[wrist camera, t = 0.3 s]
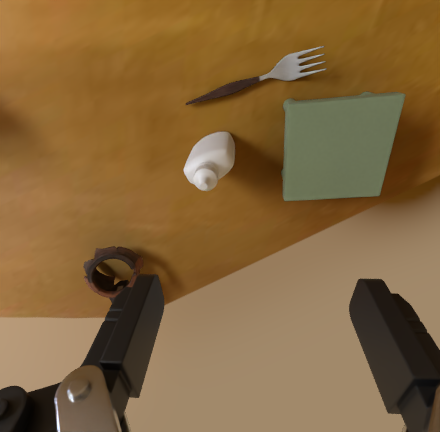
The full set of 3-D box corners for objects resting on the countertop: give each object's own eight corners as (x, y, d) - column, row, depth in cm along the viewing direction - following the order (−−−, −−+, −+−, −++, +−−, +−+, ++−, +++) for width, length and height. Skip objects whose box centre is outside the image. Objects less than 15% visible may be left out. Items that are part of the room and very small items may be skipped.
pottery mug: (79, 246, 46) (69, 262, 38) (132, 228, 48) (133, 240, 41) (104, 304, 49) (99, 329, 42) (153, 284, 52) (158, 305, 44)
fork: (182, 92, 32) (179, 94, 30) (319, 43, 28) (324, 43, 27) (190, 114, 33) (187, 117, 31) (321, 70, 29) (326, 71, 28)
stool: (279, 95, 31) (288, 104, 26) (377, 86, 30) (406, 93, 25) (277, 180, 37) (284, 201, 32) (359, 175, 36) (379, 196, 31)
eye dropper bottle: (233, 163, 36) (231, 208, 26) (192, 161, 36) (174, 204, 26) (236, 131, 34) (235, 166, 23) (192, 128, 34) (172, 162, 24)
